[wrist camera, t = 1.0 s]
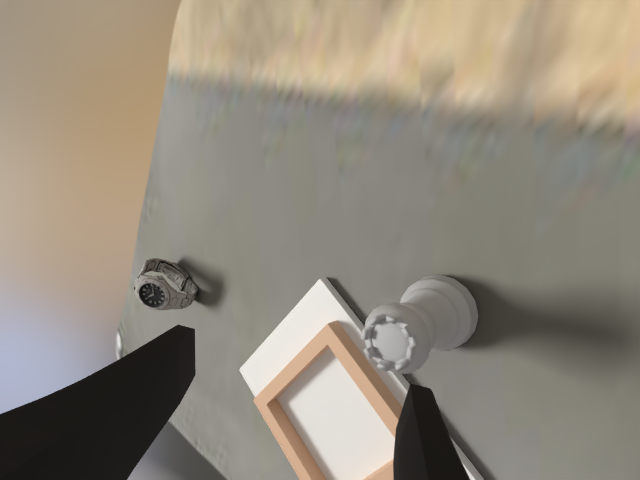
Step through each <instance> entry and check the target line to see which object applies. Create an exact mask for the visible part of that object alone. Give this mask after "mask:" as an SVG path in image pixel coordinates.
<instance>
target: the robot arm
mask: <svg viewBox="0 0 640 480" xmlns="http://www.w3.org/2000/svg"><path fill="white" fill-rule="evenodd" d="M194 376H195V329H193V328H189V327H185V326H181V325H177V326H175V327H173V328H172V329H170V330H168V331H167V332H165V333H163V334H162V335H160V336H158V337H157V338H155V339H153V340H152V341H150V342H148V343H147V344H145V345H143V346H142V347H140V348H138V349H137V350H135V351H133V352H131V353H130V354H128V355H126V356H125V357H123V358H121V359H119V360H118V361H116V362H114V363H112V364H110V365H108V366H107V367H105V368H103V369H101V370H99V371H97V372H95V373H93V374H92V375H90V376H88V377H86V378H84V379H82V380H80V381H78V382H76V383H74V384H72V385H70V386H67V387H65V388H63V389H61V390H59V391H56V392H54V393H52V394H50V395H48V396H45V397H43V398H41V399H38V400H36V401H33V402H31V403H28V404H25V405H23V406H20V407H18V408H15V409H13V410H10V411H8V412H5V413H2V414H0V480H127V479H128V477H129V475H130V474H131V472H132V471H133V469H134V468H135V466H136V465H137V463H138V462H139V461H140V459H141V458H142V456H143V455H144V454H145V452H146V451H147V449H148V448H149V446H150V445H151V444H152V442H153V441H154V439H155V438H156V437H157V435H158V434H159V432H160V431H161V429H162V428H163V427H164V425H165V424H166V423H167V421H168V420H169V418H170V417H171V415H172V414H173V412H174V411H175V410H176V408H177V407H178V405H179V404H180V402H181V400H182V399H183V397H184V395H185V393H186V391H187V390H188V388H189V386H190V384H191V382H192V380H193V378H194ZM393 479H394V480H470V478H469V476H468V474H467V472H466V470H465V468H464V466H463V464H462V462H461V460H460V457H459V455H458V453H457V451H456V449H455V447H454V444H453V442H452V440H451V438H450V435H449V433H448V431H447V428H446V426H445V424H444V421H443V419H442V416H441V414H440V411H439V408H438V406H437V403H436V400H435V397H434V395H433V392H432V391H431V389H430V388H426V387H422V386H418V385H414V384H410V386H409V389H408V392H407V395H406V399H405V402H404V405H403V408H402V411H401V414H400V417H399V420H398V424H397V427H396V433H395V445H394V458H393Z"/></svg>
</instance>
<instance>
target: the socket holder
mask: <svg viewBox="0 0 640 480" xmlns="http://www.w3.org/2000/svg"><path fill="white" fill-rule="evenodd" d="M364 328H365V326H364V325H363V324H362V323H361V321H360V320H359V319H358V317H357V316H356V315H355V314H354V312H353V311H352V310H351V309H350V307H349V306H348V305H347V303H346V302H345V301H344V300H343V298H342V297H341V296H340V294H339V293H338V292H337V291H336V289H335V288H334V287H333V286H332V284H331V283H330V282H329V280H328V279H327V278H326V277H325V278H320V279H319V280H318V281H317V283H316V284H315V285H314V286H313V287H312V288H311V289H310V290H309V292H308V293H307V294H306V295H305V296H304V297H303V298H302V299H301V301H300V302H299V303H298V304H297V305H296V306H295V307H294V308H293V310H292V311H291V312H290V313H289V314H288V315H287V316H286V317H285V319H284V320H283V321H282V322H281V323H280V324H279V325H278V326H277V328H276V329H275V330H274V331H273V332H272V333H271V334H270V336H269V337H268V338H267V339H266V340H265V341H264V342H263V343H262V345H261V346H260V347H259V348H258V349H257V350H256V351H255V352H254V354H253V355H252V356H251V357H250V358H249V359H248V360H247V361H246V363H245V364H244V365H243V366H242V367H241V368H240V369H239V370H240V372H241V374H242V376H243V377H244V379H245V381H246V382H247V384H248V386H249V387H250V389H251V391H252V392H253V394H254V396H255V398H254V399H253V401H254V402H255V404H256V406H257V407H258V409H259V411H260V412H261V414H262V416H263V418H264V419H265V421H266V423H267V424H268V426H269V428H270V429H271V431H272V433H273V435H274V436H275V438H276V440H277V441H278V443H279V445H280V446H281V448H282V450H283V452H284V453H285V455H286V457H287V458H288V460H289V462H290V463H291V465H292V467H293V469H294V470H295V472H296V474H297V475H298V477H299V479H300V480H394V479H393V458H394V445H395V433H396V427H397V424H398V420H399V417H400V414H401V411H402V408H403V405H404V402H405V399H406V395H407V392H408V389H409V386H410V384H409V383H408V381H407V380H406V379H405V378H404V376H403V375H402V374H396V373H393V372H391V371H387V372H385V371H383V370H381V369H378V368H377V365H378V363H377V362H376V361H375V360H374V359H373V358H371V359H369V360H368V358H367V356H366V355H365V353H364V351H363V350H364V349H365V348H367V347H366V343H365V340H363V339H361V336H362V330H363V329H364ZM450 438H451V436H450ZM451 440H452V442H453V444H454V447H455V449H456V451H457V453H458V455H459V457H460V460H461V462H462V464H463V466H464V468H465V470H466V472H467V474H468V476H469V478H470V480H484V478H483V477H482V476H481V475H480V473H479V472H478V471H477V470H476V468H475V467H474V466H473V464H472V463H471V462H470V461H469V459H468V458H467V457H466V455H465V454H464V453H463V452H462V450H461V449H460V448H459V447H458V445H457V444H456V443H455V441H454V440H453V439H452V438H451Z"/></svg>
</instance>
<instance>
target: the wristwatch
mask: <svg viewBox="0 0 640 480" xmlns="http://www.w3.org/2000/svg"><path fill="white" fill-rule="evenodd" d="M149 271H155V272H160V273H162V274H164V275H166V276H167V277H168V278H169V279H170V280H171V281H173V282H174V283H175V284H176V285H177V286H178V287H179V290H180V291H184V292H185V293H187V294H184V293H180V292H177V291H176V290H175V289H173V288H172V287H171V286H170V285H169V284H168V283H167V281H166V280H165V279H164V278H163V276H149V275H144V273H146V272H149ZM134 290H135V295H136V296H137V298H138V299H139V301H140V302H141V303H142V304H143V305H144V306H145V307H147V308H149V309H152V310H169V309H182V308H186V307H188V306H189V305H191V304H192V302H193V301H194V300H195V297H196V294H197V291H198V287H197V286H196V285H195V283H194V282H193V281H192V280H191V278H190V277H189V275H188V274H187V273H186V271H184V270H183V269H182V268H181V267H179V266H178V265H177V264H176V263H174V262H173V263H171V262H169V261H166V260H162V259H157V258H155V259H149V260H147V261H146V262H145V264H144V265H143V267H142V269H141V272H140V274H139V276H138V277H137V279H136V281H135V286H134Z"/></svg>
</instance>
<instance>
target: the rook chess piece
mask: <svg viewBox="0 0 640 480" xmlns="http://www.w3.org/2000/svg"><path fill="white" fill-rule="evenodd" d="M477 320H478V312H477V307H476V302H475V300H474V298H473V297H472V295H471V294H470V292H469V291H468V289H467V288H466V287H465V286H463V285H462V284H461V283H459V282H458V281H456V280H455V279H454V278H450V277H446V276H442V275H433V276H426V277H424V278H422V279H420V280H419V281H417V282H415V283H414V284H412V285H411V286H409V287H408V289H407V290H406V292H405V293H404V295H403V296H402V298H401V302H400V303H387V304H382V305H380V306H378V307H377V308H375V309H374V310H372V312H371V313H370V315H369V316H368V318H367V319H366V322H365V328H364V329H363V330H362V336H361V339H363V340H365V343H366V347H367V348H365V349H364V350H363V351H364V353H365V355H366V356H367V358H368V360H369V359H371V358H373V359H374V360H375V361H376V362H377V363H378V365H377V368H378V369H381V370H383V371H385V372H387V371H391V372H393V373H396V374H409V373H411V372H413V371H415V370H417V369H419V368H421V366H422V365H423V364H424V362H425V361H426V360H427V358H428V355H429V352H430V351H450V350H452V349H454V348H456V347H458V346H460V345H462V344H463V343H465V342H467V340H468V339H469V338H470V337H471V335H472V334H473V333H474V332H475V329H476V325H477Z"/></svg>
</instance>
